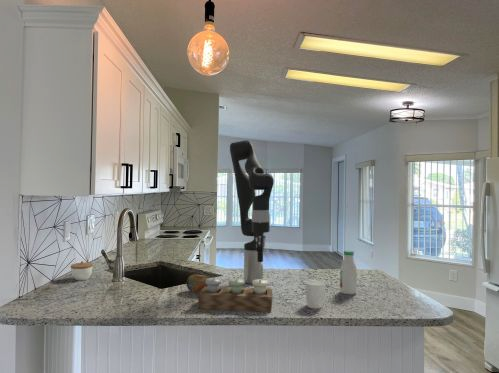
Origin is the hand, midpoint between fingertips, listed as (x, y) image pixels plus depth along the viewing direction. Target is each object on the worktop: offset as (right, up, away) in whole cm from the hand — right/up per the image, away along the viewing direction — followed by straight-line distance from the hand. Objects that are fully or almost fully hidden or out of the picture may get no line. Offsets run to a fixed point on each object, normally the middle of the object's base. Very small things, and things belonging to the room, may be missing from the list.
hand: (260, 261), depth 154 cm
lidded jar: (-94, -18, +42) cm, 105 cm away
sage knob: (-10, -14, +1) cm, 17 cm away
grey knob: (-20, -13, +2) cm, 24 cm away
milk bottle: (+43, -20, +22) cm, 52 cm away
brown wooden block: (-10, -19, +1) cm, 21 cm away
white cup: (+23, -19, +1) cm, 30 cm away
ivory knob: (0, -14, 0) cm, 14 cm away
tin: (-28, -19, +19) cm, 39 cm away
